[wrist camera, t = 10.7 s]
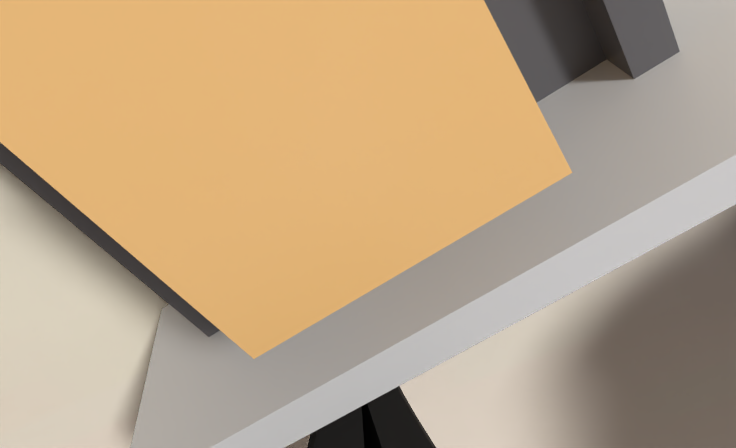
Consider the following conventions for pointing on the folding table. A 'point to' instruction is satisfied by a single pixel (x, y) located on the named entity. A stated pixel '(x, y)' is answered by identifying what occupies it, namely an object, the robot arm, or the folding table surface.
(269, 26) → the block
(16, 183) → the folding table surface
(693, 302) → the folding table surface
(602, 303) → the folding table surface
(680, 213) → the tray
